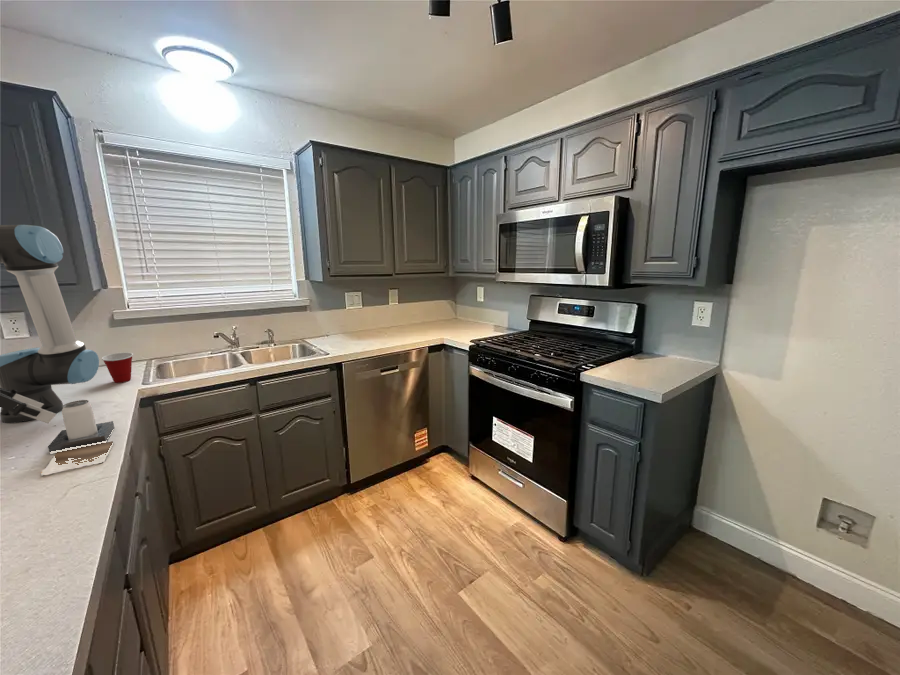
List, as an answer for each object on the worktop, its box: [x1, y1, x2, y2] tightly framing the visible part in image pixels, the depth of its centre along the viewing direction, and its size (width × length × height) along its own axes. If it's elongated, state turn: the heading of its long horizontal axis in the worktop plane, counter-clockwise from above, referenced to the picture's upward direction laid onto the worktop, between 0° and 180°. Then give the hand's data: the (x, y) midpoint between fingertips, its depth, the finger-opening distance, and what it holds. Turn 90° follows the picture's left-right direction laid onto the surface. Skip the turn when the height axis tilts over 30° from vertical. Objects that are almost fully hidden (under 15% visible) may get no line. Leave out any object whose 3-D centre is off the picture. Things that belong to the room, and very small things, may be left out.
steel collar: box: [47, 420, 115, 452], centre depth 114 cm, size 12×12×2 cm
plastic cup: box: [101, 352, 134, 384], centre depth 168 cm, size 11×11×12 cm
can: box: [61, 399, 98, 440], centre depth 113 cm, size 6×6×12 cm
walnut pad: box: [53, 440, 114, 465], centre depth 104 cm, size 12×12×1 cm
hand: (45, 413), depth 106 cm, fingers open, 13 cm apart
